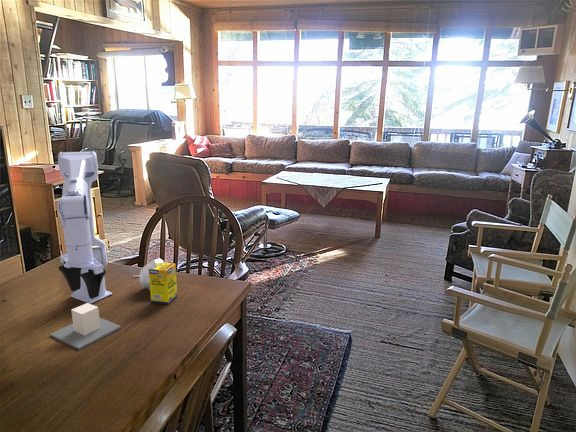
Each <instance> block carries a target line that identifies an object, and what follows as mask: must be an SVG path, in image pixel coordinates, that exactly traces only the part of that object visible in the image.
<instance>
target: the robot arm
mask: <svg viewBox="0 0 576 432" xmlns="http://www.w3.org/2000/svg"><path fill="white" fill-rule="evenodd" d="M97 155H98V154H97V152H95V151H94V150H93V151H92V150H91V151H68V152H67V151H65V152H63V151H60V152H59V153H58V154H57V163H58V168H59V172H60V175H61V176H62V178H63V180H64V182H63V185H62V192H61V193H62V194H61V198H59V199H57V210H58V212H57V213H58V215H59V219H60V221H61V222H60V224H61V228H63V233H64V234H63V235H64V243H65V249H66V253H63V254H61V255H60V256H59V257H60V263H62V265H59V266H58V270H59V271H60V272H61V273H62V275H63V276H64V278H65V280H66V281H67V284H68V286H69V289H70V291H71V292H73V293H72V294H70V297H71V298H74V299H76V300H79V301H81V302H84V303H85V304H86V303H89V304H93V303H95V302H98V301H100V300H102V299H105V298H106V297H109V296H111V295H113V292H111V291H109V290H107V289H106V288H107V287H106V280H105V275H106V272H107V271H106V269H105V267H107V266H108V254H107V248H106V242H105V241H104V240H103V239H101V238H99V237H97V236H95V226H94V214H93V213H94V212H93V202H92V193H91V192H92V191H91V189H92V184H93V182H95V181H97V180H98V179H99V178H98V177H99V163H98V157H97Z"/></svg>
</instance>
